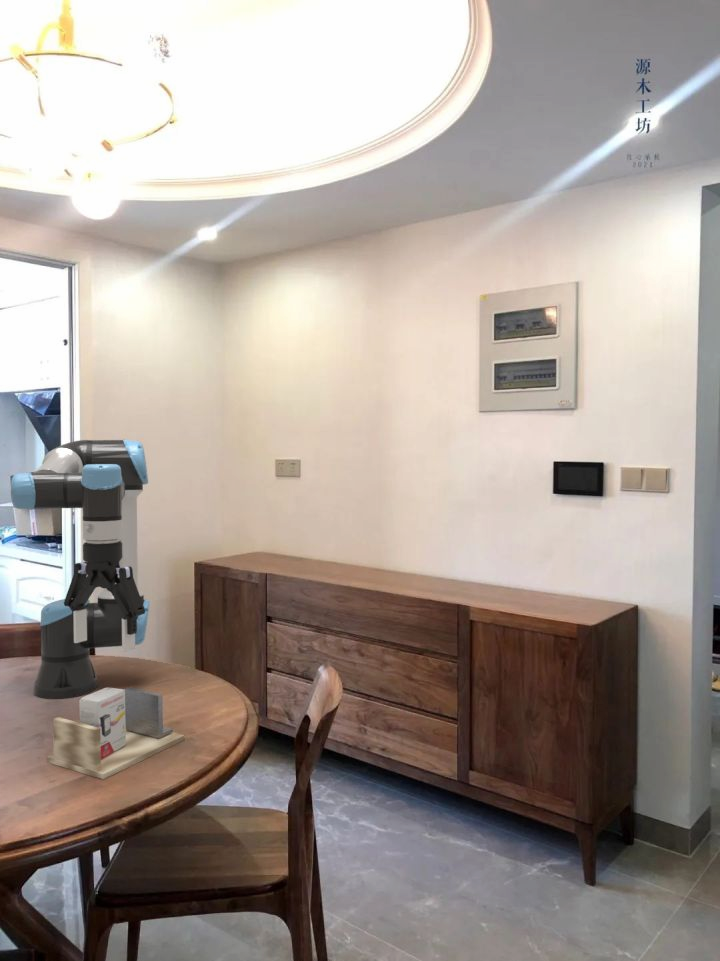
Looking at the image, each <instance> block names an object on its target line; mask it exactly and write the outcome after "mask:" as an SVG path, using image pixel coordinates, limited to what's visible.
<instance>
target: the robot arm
mask: <svg viewBox="0 0 720 961" xmlns="http://www.w3.org/2000/svg"><path fill="white" fill-rule="evenodd" d="M146 460H147V459H146V456H145V449H144V446H143V443H141V442H140V441H138V440H129V439H101V440H100V439H95V440H94V439H91V440H90V439H81V440H75V441H70V442H67V443H65V444H61V445H59V446H56V447H55V448H53V449H51V450H50V451H49V452H47V453H46V455H45V456H44V457H43V459H42V462H41V465H40V466H39V468H37V469H36V470H35V471H34V472H28V471H27V472H22V473H21V472H20V473H19V472H18V473H15V474H13V476H12V478H11V483H10V498H11V504H12V506H13V507H14V508H15V509H21V510H30V511H32V510H43V509H44V510H45V509H46V510H47V509H50V510H51V509H82V540H84V541H85V542H84V543H82V560H83V562H75V564H74V568H73V576H72V578H71V581H70V584H69V587H68V590H67V593H66V595H65V598H63V599H58V600H54V601H51V602H49V603H46V605H44V606H43V607H42V609H41V610H40V611H41V612H40V622H39V626H40V653H41V654H40V656H41V657H40V658H41V663H40V665H39V669H38V672H37V675H36V679H35V682H34V687H33V688H34V690H33V692H34V695H35V696H37V697H40V698H44V699H66V698H73V697H79V696H82V695H85V694H88V693H91V692H93V691H95V690H96V689H97V687H98V677H97V674H96V672H95V668H94V666H93V663H92V661H91V658H90V649H98V648H111V647H121V651H122V652H123V653H126V652H128V651H129V652H130V651H133V650H135V649H136V646H138V645H141V644H143V643H144V641H145V638H146V631H147V625H148V624H147V623H148V618H149V609H150V608H149V607H150V600H148V599H145V593H144V592H143V591H142V590H141V589H140V588H139V579H138V578H139V573H138V572H139V571H138V567H139V566H138V563H139V562H138V497H139V496H140V495H141V494H142V492H143V491H144V489H143V488H144V487H143V486H144V485H147V484H149V476H148V468H147V461H146ZM96 588H101V589H102V590H101V591H100V592H99V593H98V594H97V602H90V598H91V596H92V594H94V592H95V589H96ZM122 652H121V653H122Z"/></svg>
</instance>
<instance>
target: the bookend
mask: <svg viewBox="0 0 720 961" xmlns="http://www.w3.org/2000/svg"><path fill="white" fill-rule="evenodd" d="M123 690H125V719H126V730H129V731H133V732H137V733H140V734H144V735H148V736H152V737H156V738H160V737H163V736H165V735H167V734H169V733H171V732H173V733H174V729H173V728H171V727H167V726H164V720H163V719H164V718H163V717H164V713H163V710H164V708H163V701H164V700H163V698H164V696H163V694H161V693H158V692H153V691H148V690H144V689H140V688H134V687H130V686H128V687H125V688H124V689H123Z"/></svg>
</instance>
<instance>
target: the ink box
mask: <svg viewBox="0 0 720 961" xmlns="http://www.w3.org/2000/svg"><path fill="white" fill-rule="evenodd" d="M78 700H79V701H78V702H79V703H78V704H79V706H78V707H79V708H78V709H79V723H83V724H86V725H90V726H94V727H98V728H100V736H101V759H102V758H104V757H106V756H107V755H109V754H111V753H112V752H114V751H116V750H118V749H119V748H121V747H123V746H125V745H126V719H125V690H124V689H122V688H116V687H115V688H114V687H104V688H102V689H99V690H97V691H95V692H92V693H90V694H88V695H85V696H83V697H81V698H80V699H78Z"/></svg>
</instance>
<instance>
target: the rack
mask: <svg viewBox="0 0 720 961" xmlns="http://www.w3.org/2000/svg"><path fill="white" fill-rule="evenodd" d="M52 720H53V722H52V723H53V724H52V725H53V729H52V730H53V731H52V732H53V754H51V755H48V756H46V763H50V764H52V765H56V766H59V767H63V768H65V769H69V770H72V771H75V772H78V773H81V774H85V775H87V776H90V777H94V778H97V779H100V780H105V779H108V777H111V776H113V775H115V774H117V773H119V772H121V771H123V770H126V769H127V768H129V767H132V766H133V765H135V764H137V763H139V762H141V761H144V760H145V759H148V758H150V757H152V756H154V755H156V754H159V753H160V752H162V751H164V750H166V749H168V748H171V747H173V746H174V745H177V744H179V743H181V742H183V741H185V735H184V734H181V733H177V732H174V731H173V732H171V733H169V734H167V735H165V736H163V737H160V738H156V737H152V736H148V735H144V734H140V733H137V732H133V731H129V730H126V745H125V746H123V747H121V748H119V749H118V750H116V751H114V752H112V753H111V754H109V755H107V756H106V757H104V758H102V759H101V736H100V728H98V727H94V726H90V725H86V724H83V723H80V721H79V722H77V721H74V720H71V719H67V718H63V717H60V716H57V717H55V718H53V719H52Z"/></svg>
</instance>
